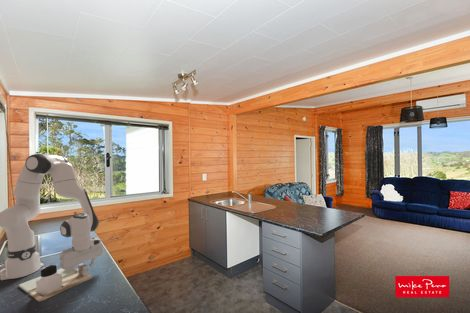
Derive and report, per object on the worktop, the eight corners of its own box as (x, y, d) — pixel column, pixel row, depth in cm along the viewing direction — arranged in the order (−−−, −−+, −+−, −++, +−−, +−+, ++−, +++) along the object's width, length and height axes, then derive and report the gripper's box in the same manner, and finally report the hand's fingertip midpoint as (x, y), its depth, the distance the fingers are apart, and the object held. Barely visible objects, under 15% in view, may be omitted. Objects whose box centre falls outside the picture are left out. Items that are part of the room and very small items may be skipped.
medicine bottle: (62, 287, 115) (61, 263, 115) (48, 296, 108) (47, 271, 108) (51, 286, 116) (49, 263, 116) (36, 295, 109) (34, 270, 109)
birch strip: (29, 294, 110) (28, 281, 110) (81, 272, 129) (80, 261, 129) (39, 302, 104) (38, 288, 104) (92, 278, 123) (91, 266, 123)
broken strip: (19, 286, 118) (18, 274, 118) (69, 267, 137) (68, 256, 137) (27, 293, 111) (27, 280, 111) (79, 272, 130) (78, 261, 130)
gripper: (62, 252, 114) (64, 280, 115) (104, 238, 132) (105, 262, 132) (56, 250, 118) (58, 277, 118) (98, 237, 135) (99, 260, 135)
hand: (83, 269), depth 125 cm, fingers open, 7 cm apart
